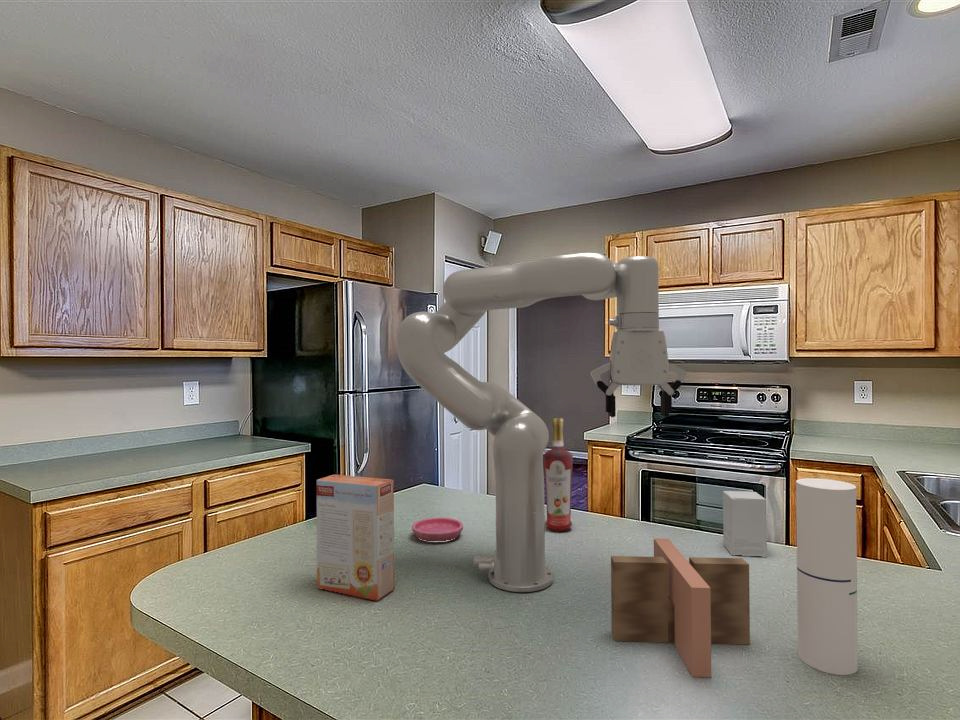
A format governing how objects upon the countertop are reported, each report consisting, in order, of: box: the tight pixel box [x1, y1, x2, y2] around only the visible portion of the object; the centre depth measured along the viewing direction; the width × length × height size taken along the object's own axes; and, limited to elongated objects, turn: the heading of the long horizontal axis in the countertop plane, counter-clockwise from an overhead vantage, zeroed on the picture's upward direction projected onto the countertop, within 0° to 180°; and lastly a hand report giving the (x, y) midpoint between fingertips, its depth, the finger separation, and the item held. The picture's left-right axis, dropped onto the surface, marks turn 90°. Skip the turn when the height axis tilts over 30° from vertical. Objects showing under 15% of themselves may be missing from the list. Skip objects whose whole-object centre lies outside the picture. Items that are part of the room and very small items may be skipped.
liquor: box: [543, 417, 574, 533], centre depth 136 cm, size 7×7×28 cm
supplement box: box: [722, 490, 768, 558], centre depth 119 cm, size 7×7×13 cm
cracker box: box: [316, 474, 395, 602], centre depth 100 cm, size 14×6×21 cm, turn 65°
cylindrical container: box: [795, 477, 859, 676], centre depth 76 cm, size 7×7×25 cm
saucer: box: [411, 517, 464, 541], centre depth 130 cm, size 12×12×3 cm
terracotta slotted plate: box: [653, 538, 712, 678], centre depth 82 cm, size 20×2×12 cm, turn 176°
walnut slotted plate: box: [610, 555, 751, 645], centre depth 82 cm, size 20×2×12 cm, turn 86°
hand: (638, 416), depth 99 cm, fingers open, 9 cm apart
